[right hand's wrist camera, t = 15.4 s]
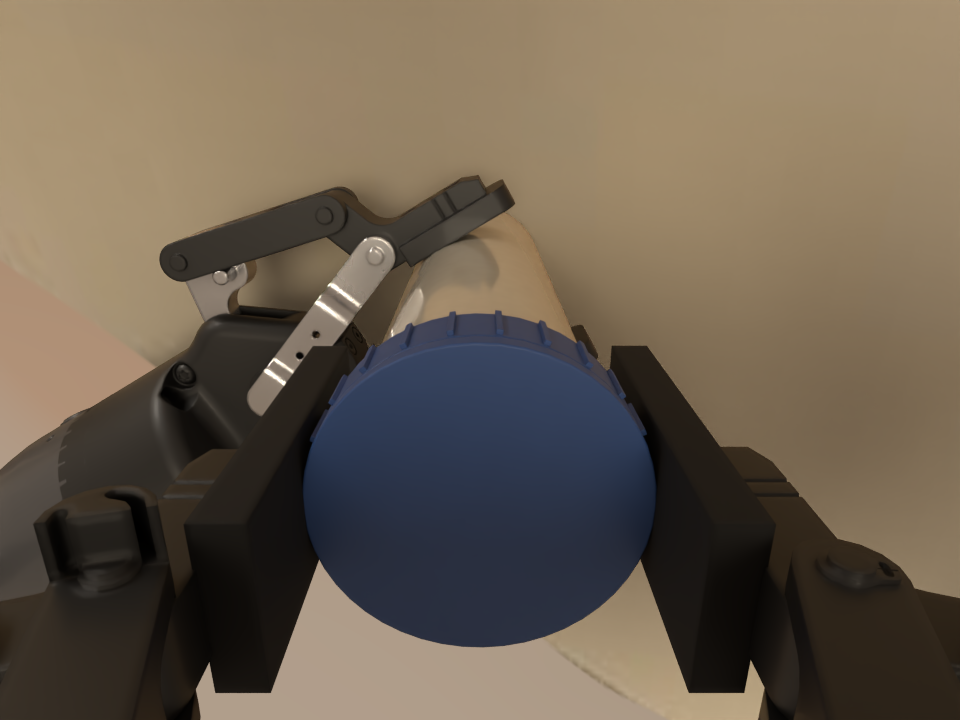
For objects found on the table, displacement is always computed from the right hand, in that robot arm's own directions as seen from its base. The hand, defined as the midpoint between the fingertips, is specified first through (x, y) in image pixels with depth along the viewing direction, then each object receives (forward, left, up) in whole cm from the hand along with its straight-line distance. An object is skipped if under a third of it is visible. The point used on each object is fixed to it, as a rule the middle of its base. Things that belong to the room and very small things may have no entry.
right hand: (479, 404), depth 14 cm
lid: (0, 0, +4) cm, 4 cm away
